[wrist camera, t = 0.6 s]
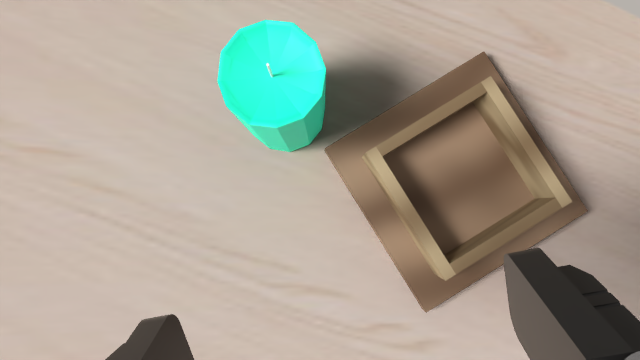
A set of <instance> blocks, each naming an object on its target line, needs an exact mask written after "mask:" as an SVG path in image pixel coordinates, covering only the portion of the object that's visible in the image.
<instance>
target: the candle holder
mask: <svg viewBox="0 0 640 360" xmlns="http://www.w3.org/2000/svg"><path fill="white" fill-rule="evenodd" d="M325 152H326V154H327V155H328V157H329V159H330V160H331V162H332V164H333V165H334V167H335V168H336V170H337V172H338V173H339V175H340V177H341V178H342V180H343V181H344V183H345V185H346V186H347V188H348V189H349V191H350V193H351V194H352V196H353V198H354V199H355V201H356V202H357V204H358V206H359V207H360V209H361V210H362V212H363V214H364V215H365V217H366V219H367V220H368V222H369V223H370V225H371V227H372V228H373V230H374V232H375V233H376V235H377V236H378V238H379V240H380V241H381V243H382V244H383V246H384V248H385V249H386V251H387V253H388V254H389V256H390V257H391V259H392V261H393V262H394V264H395V265H396V267H397V269H398V270H399V272H400V274H401V275H402V277H403V278H404V280H405V282H406V283H407V285H408V287H409V288H410V290H411V291H412V293H413V295H414V296H415V298H416V299H417V301H418V303H419V304H420V306H421V308H422V309H423V310H424V311H425V312H428V311H429V310H431V309H433V308H434V307H436V306H437V305H439V304H441V303H442V302H444V301H445V300H447V299H449V298H450V297H452V296H453V295H455V294H456V293H458V292H460V291H461V290H463V289H464V288H466V287H468V286H469V285H471V284H472V283H474V282H476V281H477V280H479V279H480V278H482V277H484V276H485V275H487V274H488V273H490V272H492V271H493V270H495V269H496V268H498V267H500V266H501V265H503V264H504V255H505V254H507V253H513V252H518V251H523V250H527V249H528V248H530V247H531V246H533V245H535V244H536V243H538V242H539V241H541V240H543V239H544V238H546V237H547V236H549V235H551V234H552V233H554V232H555V231H557V230H559V229H560V228H562V227H563V226H565V225H567V224H568V223H570V222H571V221H573V220H575V219H576V218H578V217H579V216H581V215H583V214H584V213H586V212H587V211H588V210H587V209H586V207H585V206H584V204H583V203H582V201H581V200H580V198H579V197H578V195H577V194H576V192H575V190H574V189H573V187H572V186H571V184H570V183H569V181H568V180H567V178H566V177H565V175H564V174H563V172H562V170H561V169H560V167H559V166H558V164H557V163H556V161H555V160H554V158H553V157H552V155H551V154H550V152H549V150H548V149H547V147H546V146H545V144H544V143H543V141H542V140H541V138H540V137H539V135H538V134H537V132H536V130H535V129H534V127H533V126H532V124H531V123H530V121H529V120H528V118H527V117H526V115H525V114H524V112H523V110H522V109H521V107H520V106H519V104H518V103H517V101H516V100H515V98H514V97H513V95H512V94H511V92H510V90H509V89H508V87H507V86H506V84H505V83H504V81H503V80H502V78H501V77H500V75H499V74H498V72H497V70H496V69H495V67H494V66H493V64H492V63H491V61H490V60H489V58H488V57H487V55H486V54H485V52H482V53H480V54H479V55H477V56H475V57H474V58H472V59H471V60H469V61H467V62H466V63H464V64H462V65H461V66H459V67H457V68H456V69H454V70H453V71H451V72H449V73H448V74H446V75H444V76H443V77H441V78H439V79H438V80H436V81H435V82H433V83H431V84H430V85H428V86H426V87H425V88H423V89H421V90H420V91H418V92H417V93H415V94H413V95H412V96H410V97H408V98H407V99H405V100H403V101H402V102H400V103H399V104H397V105H395V106H394V107H392V108H390V109H389V110H387V111H385V112H384V113H382V114H381V115H379V116H377V117H376V118H374V119H372V120H371V121H369V122H367V123H366V124H364V125H362V126H361V127H359V128H358V129H356V130H354V131H353V132H351V133H349V134H348V135H346V136H344V137H343V138H341V139H340V140H338V141H336V142H335V143H333V144H331V145H330V146H328V147H326V148H325Z"/></svg>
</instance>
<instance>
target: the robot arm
mask: <svg viewBox="0 0 640 360" xmlns="http://www.w3.org/2000/svg"><path fill="white" fill-rule="evenodd" d="M504 269H505V277H506V285H507V293H508V301H509V309H510V315H511V320H512V323H513V327H514V330H515V332H516V335H517V337H518V339H519V341H520V343H521V344H522V346H523V348H524V350H525V351H526V353H527V355H528V357H529V358H530V360H640V321H639V320H638V319H637V318H636V317H635V316H634V315H633V314H632V313H631V312H629V311H628V310H627V309H626V308H625V307H624V306H623V305H620V302H619V301H618V300H617V299H616V298H615V297H614V296H613V295H612V294H611V293H608V292H607V289H606V288H605V287H604V286H603V285H602V284H601V283H600V282H599V281H598V280H597V279H596V278H595V277H594V276H593V275H591V274H588V273H586V272H584V271H582V270H580V269H578V268H576V267H573V266H571V265H567V266H561V267H557V266H556V265H555V264H554V263H553V262H552V261H551V260H550V259H549V257H548V256H547V255H546V254H545V253H544V252H543V251H542V250H541V249H540V248H534V249H529V250H523V251H518V252H513V253H507V254H505V255H504ZM105 360H194V358H193V355H192V353H191V350H190V347H189V345H188V342H187V340H186V337H185V334H184V332H183V329H182V327H181V324H180V322H179V320H178V318H177V317H176V316H175V315H173V314H170V315H165V316H160V317H154V318H149V319H144V320H142V321H141V322H140V323H139V324H138V326H137V327H136V329H135V330H134V332H133V333H132V334H131V336H130V337H129V339H128V340H127V342H126V343H124V344H123V345H121V346H120V347H119V348H118V349H117V350H116V351H115V352H113V353H112V354H111V355H110V356H109V357H108V358H107V359H105Z"/></svg>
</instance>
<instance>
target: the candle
mask: <svg viewBox="0 0 640 360" xmlns="http://www.w3.org/2000/svg"><path fill="white" fill-rule="evenodd" d="M218 84H219V87H220V90H221V93H222V96H223V98H224V101H225V104H226V106H227V107H228V109H229V110H230V111H231V112H232V113H233V114H234V115H235V116H236V117H237V118H238V119H239V120H240V121H241V122H242V123H243V124H244V126H245V127H246V128H247V129H248V130H249V131H250V132H251V133H252V134H253V135H254V136H255V137H256V138H257V139H259V140H260V141H261V142H262V143H264V144H265V145H266V146H267V147H269V148H270V149H274V150H281V151H287V152H292V151H294V150H297V149H299V148H302V147H305V146H307V145H309V144H310V143H311V142H312V141H313V139H314V138H315V137H316V136H317V135H318V133H319V132H320V131H321V130H322V125H323V119H324V113H325V91H326V67H325V65H324V62H323V60H322V57H321V54H320V52H319V49H318V47H317V44H316V42H315V41H314V40H313V39H312V38H311V37H309V36H308V35H307V34H306V33H305V32H304V31H302V30H301V29H300V28H299V27H298V26H297V25H295V24H294V23H291V22H282V21H272V20H264V21H261V22H258V23H255V24H252V25H250V26H247V27H244V28H241V29H239V30H238V31H237V32H236V33H235V35H234V36H233V37H232V38H231V40H230V41H229V42H228V44H227V45H226V46H225V47H224V49H223V50H222V51H221V55H220V64H219V73H218Z"/></svg>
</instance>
